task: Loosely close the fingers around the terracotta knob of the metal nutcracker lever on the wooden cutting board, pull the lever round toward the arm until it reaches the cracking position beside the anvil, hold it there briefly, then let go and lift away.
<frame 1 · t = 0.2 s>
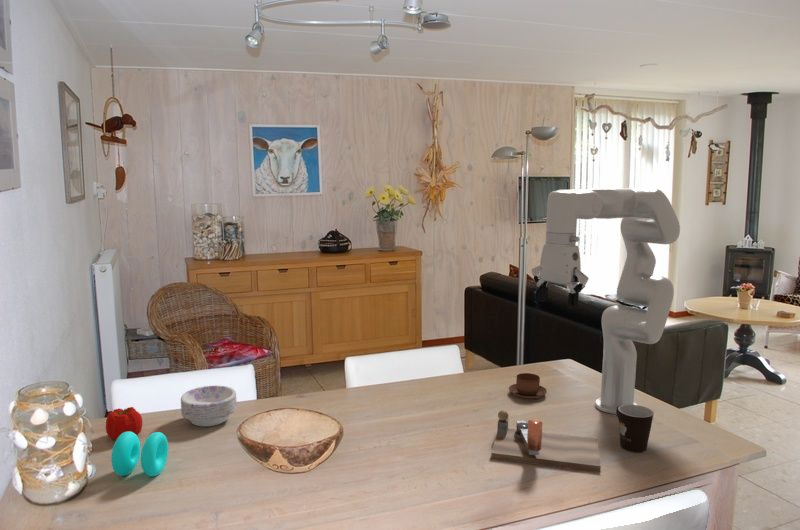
hand: (557, 304, 158), 37 cm above the table, tool pointing down, fingers open, 9 cm apart
donuts: (141, 474, 144), on the table
coffee mug: (632, 445, 160), on the table
cup and saucer: (527, 395, 196), on the table
paper bowls: (210, 421, 175), on the table
tomato: (124, 437, 164), on the table
lever: (528, 426, 155), point 7 cm above the table, hinge at 0.0°
wooden cutting board: (545, 450, 156), on the table
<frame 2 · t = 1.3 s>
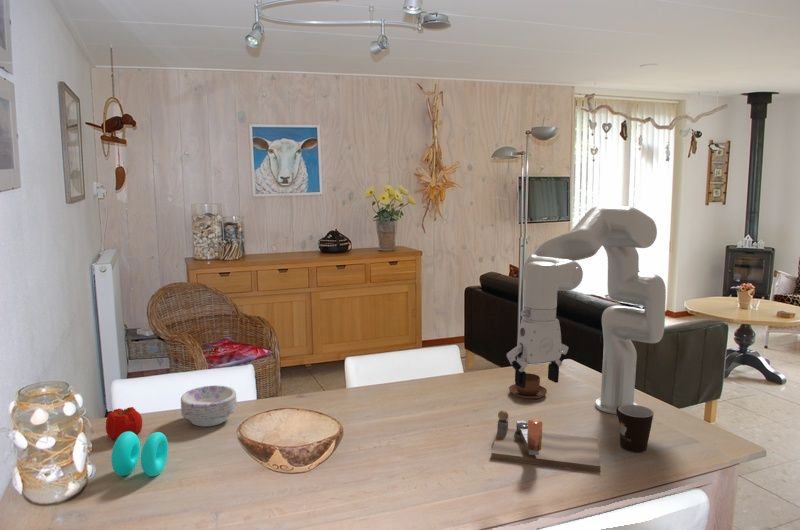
hand: (536, 383, 146), 21 cm above the table, tool pointing down, fingers open, 9 cm apart
nothing on the table moved.
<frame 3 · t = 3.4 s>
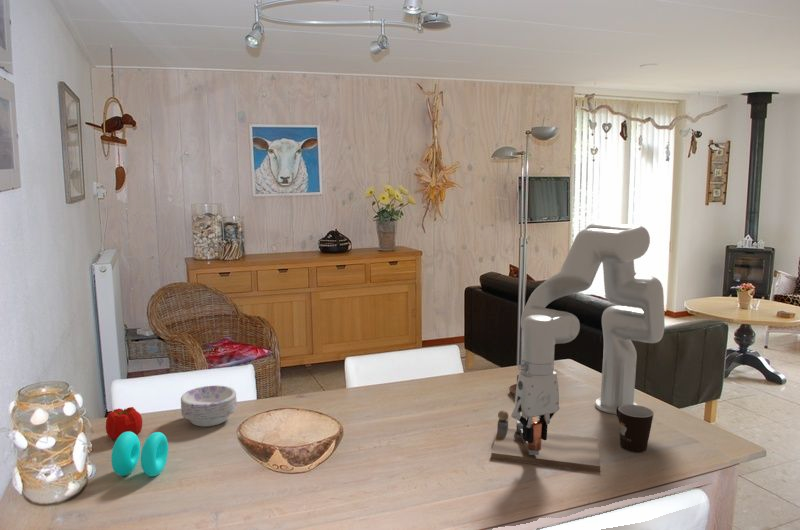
hand: (534, 438, 148), 7 cm above the table, tool pointing down, fingers closed on lever, 3 cm apart
lever: (528, 426, 155), point 7 cm above the table, hinge at 0.0°, touching gripper
everything else where it was.
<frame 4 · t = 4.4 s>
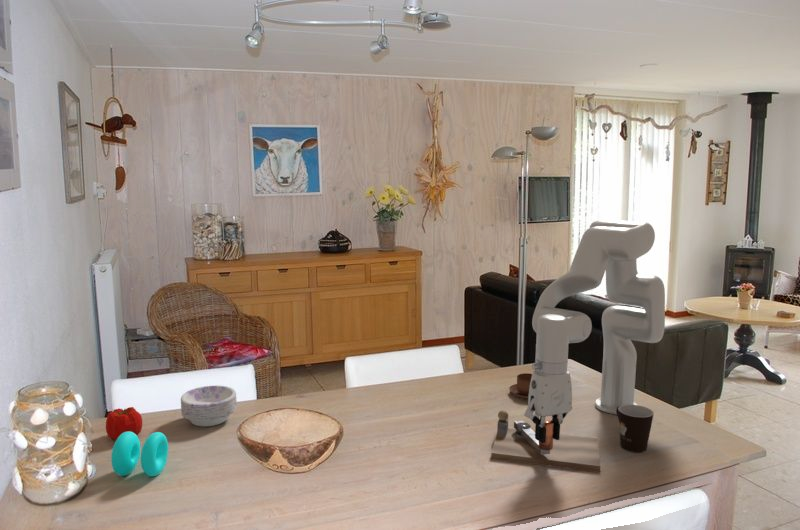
hand: (547, 438, 148), 7 cm above the table, tool pointing down, fingers closed on lever, 3 cm apart
lever: (533, 425, 155), point 7 cm above the table, hinge at 12.9°, touching gripper
everything else where it was.
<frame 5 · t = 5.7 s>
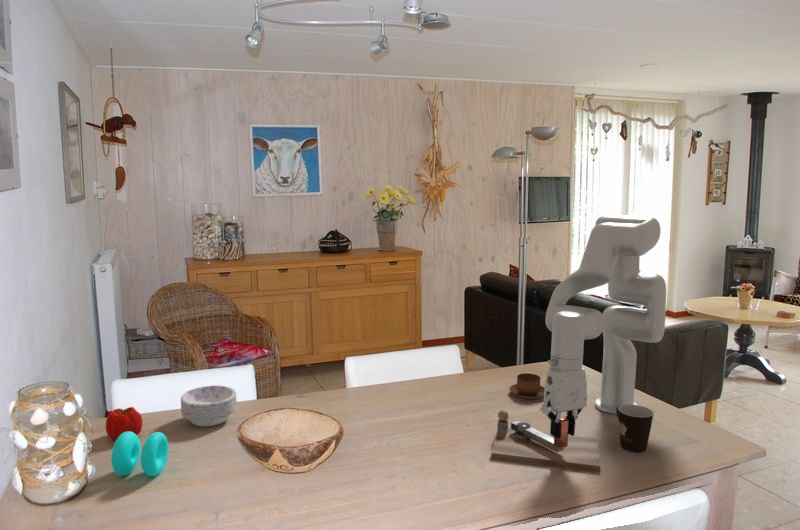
hand: (562, 434, 150), 7 cm above the table, tool pointing down, fingers closed on lever, 3 cm apart
lever: (539, 424, 156), point 7 cm above the table, hinge at 32.7°, touching gripper
everything else where it was.
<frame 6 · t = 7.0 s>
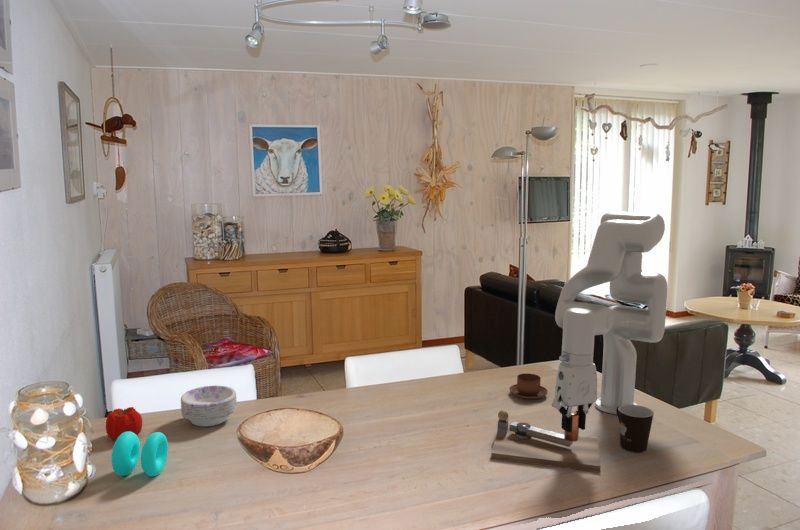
hand: (573, 428, 153), 7 cm above the table, tool pointing down, fingers closed on lever, 3 cm apart
lever: (543, 422, 158), point 7 cm above the table, hinge at 54.1°, touching gripper
everything else where it was.
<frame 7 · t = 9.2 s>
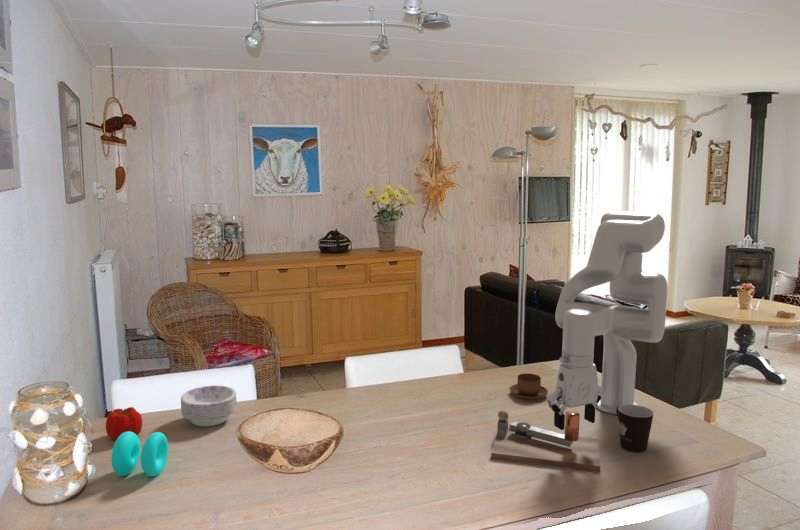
hand: (574, 424, 153), 8 cm above the table, tool pointing down, fingers open, 9 cm apart
lever: (543, 422, 158), point 7 cm above the table, hinge at 54.7°
everything else where it was.
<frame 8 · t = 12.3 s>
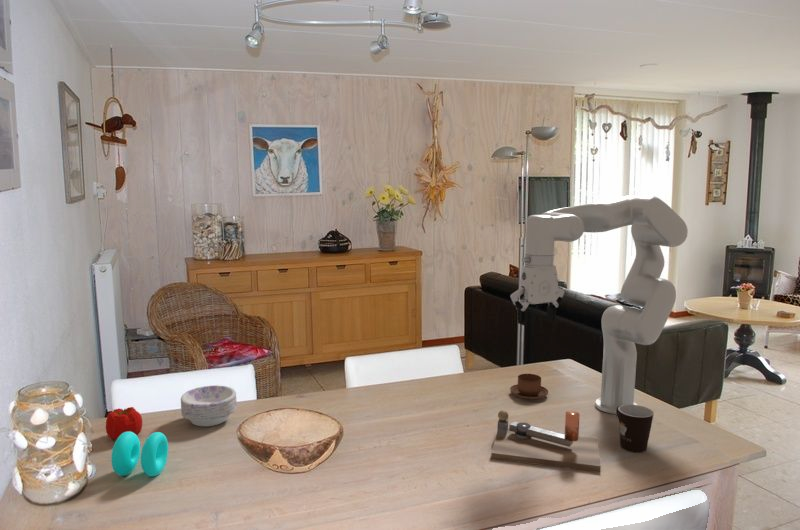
hand: (536, 322, 166), 30 cm above the table, tool pointing down, fingers open, 9 cm apart
nothing on the table moved.
at the end: lever at +55° (first picture: +0°); the gripper is holding nothing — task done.
